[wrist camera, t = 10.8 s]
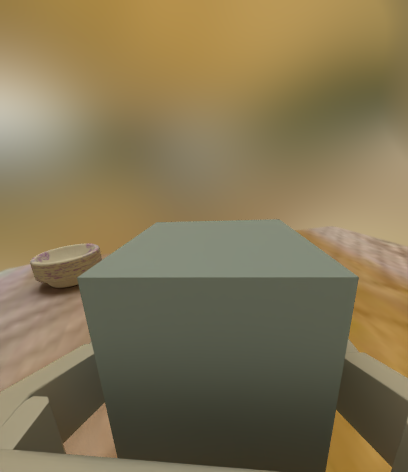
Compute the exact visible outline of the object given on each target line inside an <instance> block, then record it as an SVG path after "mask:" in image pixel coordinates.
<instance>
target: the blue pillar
mask: <svg viewBox="0 0 408 472" xmlns="http://www.w3.org/2000/svg"><path fill="white" fill-rule="evenodd" d="M358 279H359V277H358V276H356V275H355V274H354V273H352V272H351V271H349V270H348V269H347V268H345V267H344V266H343V265H341V264H340V263H338V262H337V261H336V260H334V259H333V258H332V257H330V256H329V255H327V254H326V253H325V252H323V251H322V250H321V249H319V248H318V247H316V246H315V245H314V244H312V243H311V242H310V241H308V240H307V239H305V238H304V237H303V236H301V235H300V234H299V233H297V232H296V231H294V230H293V229H292V228H290V227H289V226H288V225H286V224H285V223H283V222H282V221H281V220H279V219H277V220H236V221H198V222H197V221H196V222H157V223H155V224H154V225H152V226H151V227H150V228H148V229H146V230H145V231H144V232H142V233H141V234H139V235H138V236H137V237H135V238H133V239H132V240H131V241H129V242H128V243H126V244H125V245H123V246H122V247H120V248H119V249H118V250H116V251H115V252H113V253H112V254H110V255H109V256H107V257H106V258H104V259H103V260H102V261H100V262H99V263H97V264H96V265H94V266H93V267H91V268H90V269H89V270H87V271H86V272H84V273H83V274H81V275H80V276H78V277H77V280H78V284H79V289H80V293H81V298H82V302H83V306H84V311H85V315H86V320H87V324H88V329H89V333H90V337H91V342H92V346H93V351H94V355H95V360H96V364H97V369H98V373H99V377H100V382H101V386H102V391H103V395H104V400H105V404H106V408H107V413H108V417H109V422H110V426H111V431H112V435H113V439H114V444H115V448H116V453H117V457H118V458H120V459H132V460H145V461H157V462H169V463H181V464H193V465H205V466H218V467H230V468H242V469H254V470H267V471H279V472H325V470H326V465H327V459H328V453H329V447H330V441H331V436H332V430H333V424H334V418H335V412H336V406H337V401H338V395H339V389H340V383H341V377H342V372H343V366H344V360H345V354H346V348H347V343H348V337H349V331H350V325H351V319H352V313H353V308H354V302H355V296H356V290H357V284H358Z"/></svg>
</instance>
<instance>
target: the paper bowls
mask: <svg viewBox="0 0 408 472" xmlns="http://www.w3.org/2000/svg"><path fill="white" fill-rule="evenodd" d="M100 261H102V257H101V254H100V248H99V246H97V245H95V244H77V245H70V246H65V247H60V248H56V249H53V250H49V251H46V252H44V253H41V254H39V255H37V256H35V257H34V258H32V259H31V261H30V264H31V267H32V271H33V273H34V277H35V279H36V280H37V281H39V282H43V283H44V282H45V283H46V282H47V283H48V284H49V285H50V286H52V287H56V288H65V287H71V286H75V285H78V280H77V277H78V276H80V275H81V274H83V273H84V272H86V271H87V270H89V269H90V268H91V267H93V266H94V265H96V264H97V263H99V262H100Z"/></svg>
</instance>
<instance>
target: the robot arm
mask: <svg viewBox="0 0 408 472" xmlns="http://www.w3.org/2000/svg"><path fill="white" fill-rule="evenodd" d="M104 402H105V400H104V395H103V391H102V386H101V382H100V377H99V373H98V369H97V364H96V360H95V355H94V351H93V346H92V342H90V343H89V344H84V345H82V346H80V347H79V348H77V349H75V350H73V351H72V352H70V353H68V354H66V355H65V356H63V357H61V358H59V359H58V360H56V361H54V362H52V363H51V364H49V365H47V366H45V367H44V368H42V369H40V370H38V371H36V372H35V373H33V374H31V375H29V376H28V377H26V378H24V379H22V380H21V381H19V382H17V383H15V384H14V385H12V386H10V387H8V388H7V389H5V390H3V391H1V392H0V472H279V471H267V470H254V469H242V468H230V467H218V466H205V465H193V464H181V463H169V462H157V461H145V460H132V459H120V458H108V457H96V456H84V455H72V454H66V451H65V448H64V445H63V443H64V442H65V441H66V440H67V439H68V438H69V437H70V436H71V435H72V434H73V433H74V432H75V431H76V430H77V429H78V428H79V427H80V426H81V425H82V424H83V423H84V422H85V421H86V420H87V419H88V418H89V417H90V416H91V415H92V414H93V413H94V412H95V411H96V410H97V409H98V408H99V407H100V406H101V405H102V404H103V403H104ZM336 410H337V411H338V412H339V413H340V414H341V415H342V416H343V417H344V418H345V419H346V420H347V421H348V422H349V423H350V424H351V425H352V426H353V427H354V428H355V429H356V430H357V432H358V433H359V434H360V435H361V436H362V437H363V438H364V439H365V440H366V441H367V442H368V443H369V444H370V445H371V446H372V447H373V448H374V449H375V450H376V451H377V452H378V453H379V454H380V455H381V456H382V457H383V458H384V459H385V461H386V462H387V463H388V464H389V465H390V466H391V467H392V470H391V472H408V378H406V377H405V376H403V375H401V374H400V373H398V372H396V371H395V370H393V369H391V368H389V367H388V366H386V365H384V364H383V363H381V362H379V361H378V360H376V359H374V358H372V357H371V356H369V355H367V354H366V353H359V351H358V350H357V349H356V348H355V346H354V345H353V344H352V343H351V341H350V340H349V339H348V343H347V348H346V354H345V360H344V366H343V372H342V377H341V383H340V389H339V395H338V401H337V406H336Z"/></svg>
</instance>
